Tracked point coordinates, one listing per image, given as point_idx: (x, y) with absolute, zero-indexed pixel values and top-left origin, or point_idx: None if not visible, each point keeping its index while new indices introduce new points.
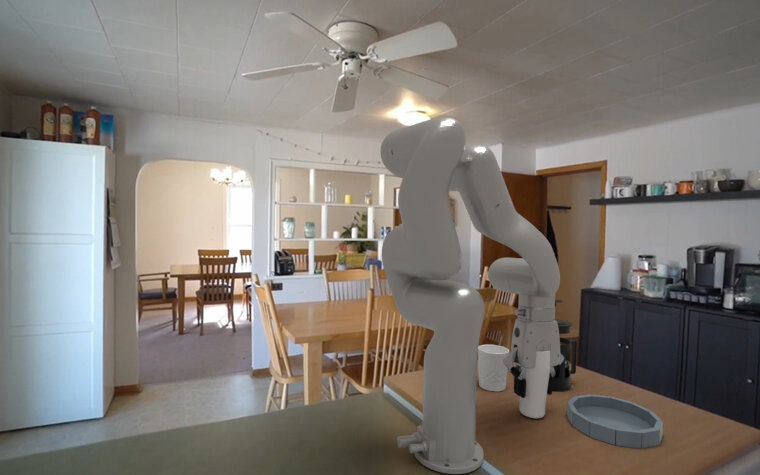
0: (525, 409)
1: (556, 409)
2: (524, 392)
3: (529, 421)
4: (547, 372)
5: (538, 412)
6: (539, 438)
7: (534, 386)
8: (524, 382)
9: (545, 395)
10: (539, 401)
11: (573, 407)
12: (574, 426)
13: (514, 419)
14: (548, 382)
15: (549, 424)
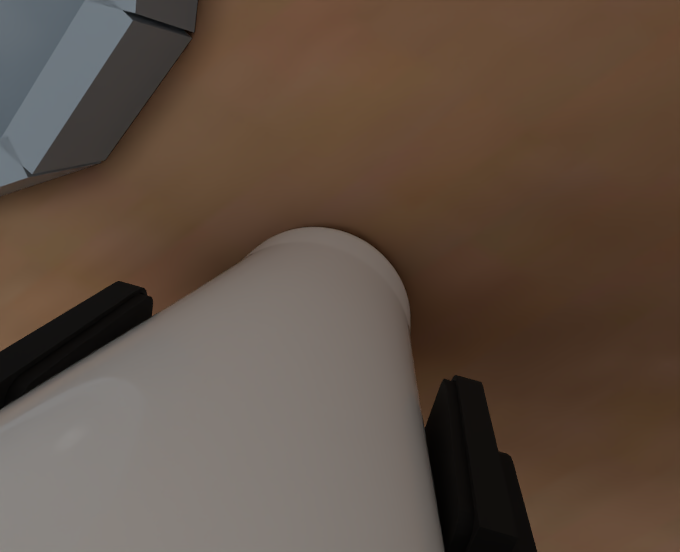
0: (410, 327)
1: (94, 264)
2: (470, 407)
3: (426, 253)
4: (69, 422)
5: (351, 244)
6: (613, 35)
7: (383, 381)
8: (496, 503)
9: (244, 272)
10: (337, 270)
11: (52, 79)
12: (194, 9)
13: (495, 326)
14: (71, 365)
15: (333, 146)
